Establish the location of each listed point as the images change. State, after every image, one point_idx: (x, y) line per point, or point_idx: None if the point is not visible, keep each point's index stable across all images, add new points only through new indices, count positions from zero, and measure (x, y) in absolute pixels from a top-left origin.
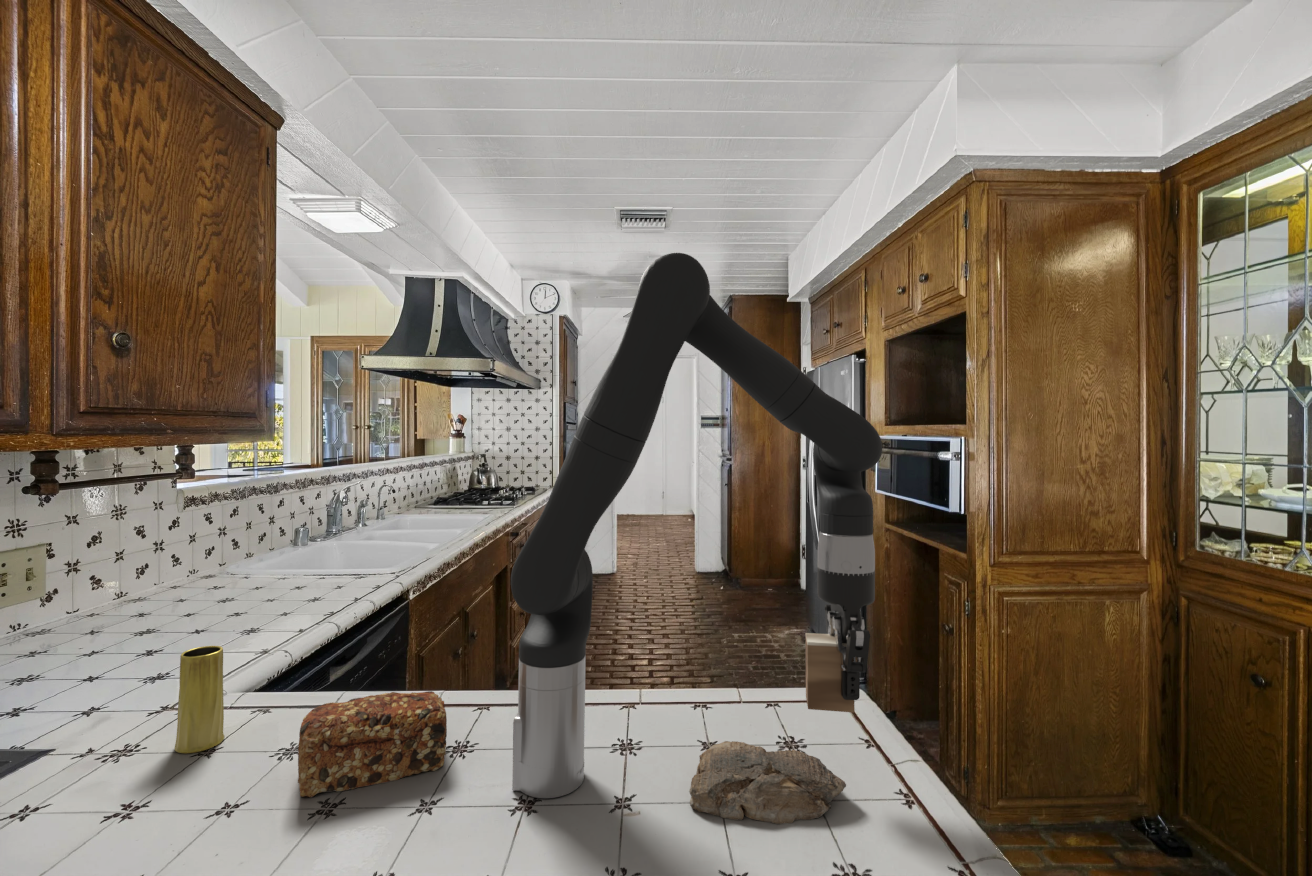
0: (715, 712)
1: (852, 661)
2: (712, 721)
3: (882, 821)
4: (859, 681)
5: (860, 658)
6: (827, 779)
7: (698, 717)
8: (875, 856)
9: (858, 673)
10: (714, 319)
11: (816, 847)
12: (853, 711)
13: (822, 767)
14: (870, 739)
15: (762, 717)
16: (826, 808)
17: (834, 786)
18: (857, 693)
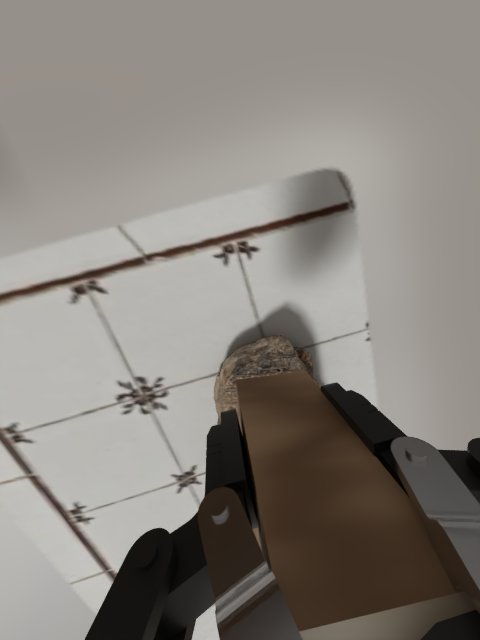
0: (89, 495)
1: (404, 496)
2: (120, 491)
3: (293, 288)
4: (367, 412)
5: (469, 495)
6: (290, 361)
7: (116, 508)
8: (353, 301)
9: (389, 436)
10: None
11: (348, 355)
12: (306, 373)
13: (265, 368)
14: (70, 284)
15: (73, 440)
16: (308, 352)
17: (294, 350)
18: (363, 397)
